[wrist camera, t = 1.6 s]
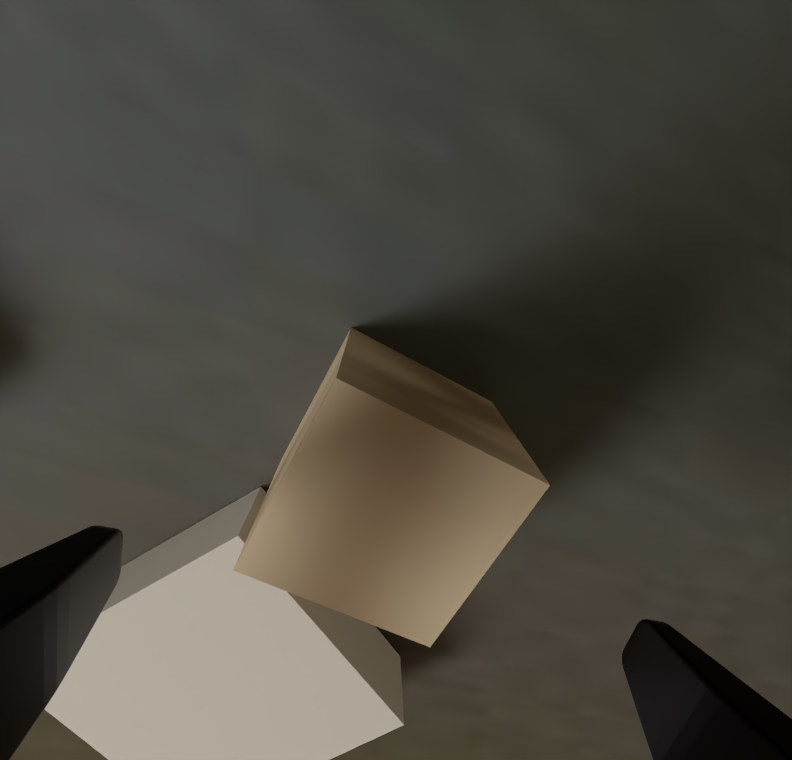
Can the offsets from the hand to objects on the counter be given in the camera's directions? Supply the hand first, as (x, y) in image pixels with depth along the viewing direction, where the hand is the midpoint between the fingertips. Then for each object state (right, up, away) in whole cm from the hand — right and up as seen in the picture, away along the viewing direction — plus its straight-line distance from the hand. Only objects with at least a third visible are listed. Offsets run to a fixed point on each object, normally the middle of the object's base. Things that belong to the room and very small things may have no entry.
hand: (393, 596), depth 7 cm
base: (-6, -6, +9) cm, 12 cm away
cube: (0, +2, +7) cm, 7 cm away
